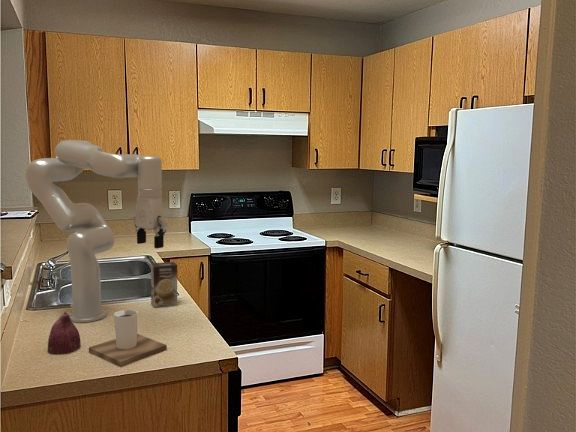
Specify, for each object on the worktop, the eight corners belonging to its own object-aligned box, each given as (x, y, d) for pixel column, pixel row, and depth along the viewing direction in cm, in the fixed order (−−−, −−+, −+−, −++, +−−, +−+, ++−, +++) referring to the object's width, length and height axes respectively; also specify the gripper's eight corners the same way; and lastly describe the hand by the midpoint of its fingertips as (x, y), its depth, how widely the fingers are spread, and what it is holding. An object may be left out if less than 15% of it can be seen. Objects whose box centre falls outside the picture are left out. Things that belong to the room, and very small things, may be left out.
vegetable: (82, 359, 155) (89, 320, 151) (48, 362, 150) (54, 321, 146) (77, 341, 162) (83, 304, 159) (44, 343, 157) (50, 304, 154)
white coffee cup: (137, 340, 159) (137, 309, 158) (138, 348, 153) (137, 315, 151) (115, 342, 157) (114, 310, 156) (115, 350, 151) (114, 317, 149)
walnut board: (88, 352, 153) (88, 347, 153) (134, 337, 166) (134, 332, 165) (120, 366, 143) (120, 361, 143) (166, 349, 156) (166, 344, 156)
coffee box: (153, 308, 195) (152, 266, 193) (150, 303, 201) (150, 263, 199) (177, 305, 199) (177, 264, 197) (174, 300, 204) (174, 261, 202)
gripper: (124, 192, 171) (125, 242, 173) (156, 197, 160) (156, 251, 162) (144, 191, 177) (144, 240, 179) (175, 195, 165) (175, 248, 168)
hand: (150, 245), depth 171 cm, fingers open, 9 cm apart
